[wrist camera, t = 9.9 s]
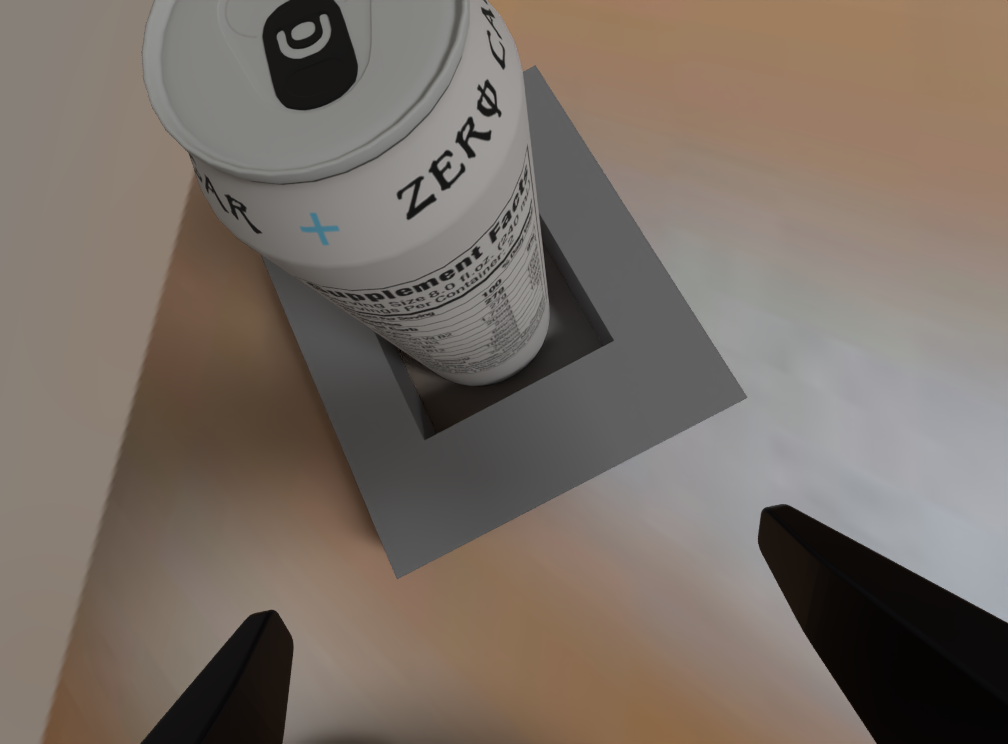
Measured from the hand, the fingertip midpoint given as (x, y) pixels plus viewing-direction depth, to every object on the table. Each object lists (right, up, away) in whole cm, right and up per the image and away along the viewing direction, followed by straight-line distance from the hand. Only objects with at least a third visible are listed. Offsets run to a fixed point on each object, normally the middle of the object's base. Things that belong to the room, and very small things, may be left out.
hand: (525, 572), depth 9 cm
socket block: (-1, +6, +13) cm, 14 cm away
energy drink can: (-1, +6, +13) cm, 14 cm away
